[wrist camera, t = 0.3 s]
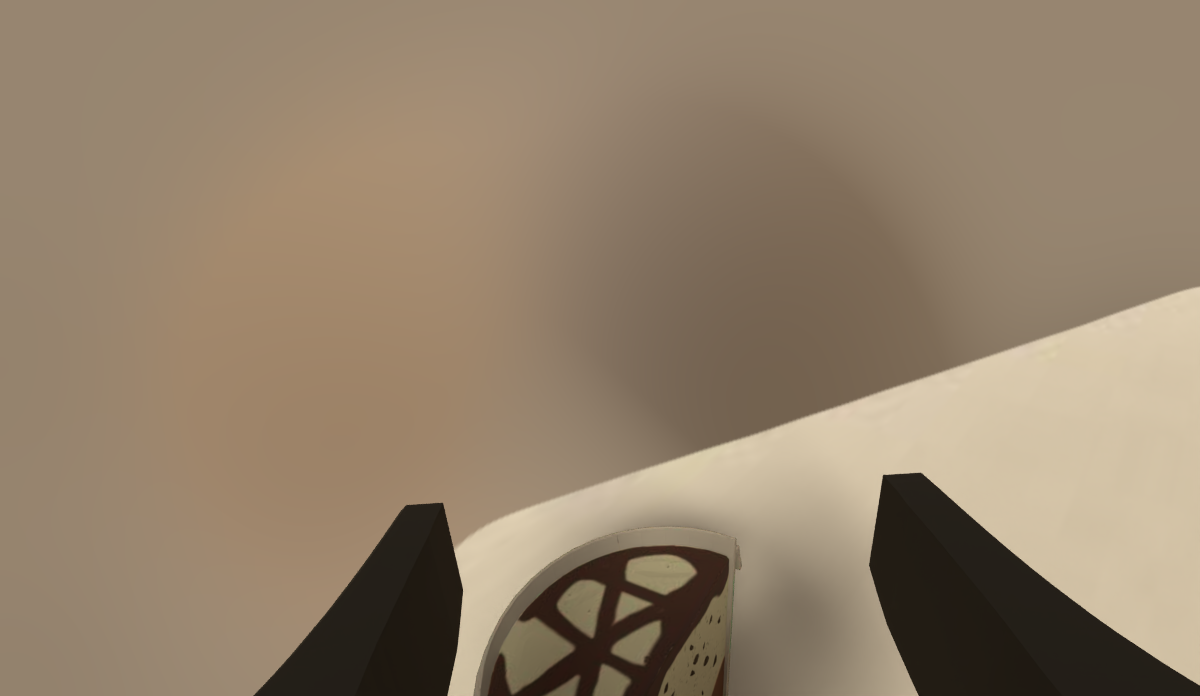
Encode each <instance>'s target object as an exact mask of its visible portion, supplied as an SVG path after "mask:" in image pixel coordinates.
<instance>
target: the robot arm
mask: <svg viewBox="0 0 1200 696" xmlns="http://www.w3.org/2000/svg"><path fill="white" fill-rule="evenodd" d="M869 567H870V570H871V574H872V577H873V580H874V584H875V587H876V591H877V594H878V597H879V601H880V604H881V607H882V610H883V613H884V616H885V619H886V622H887V625H888V628H889V630H890V632H891V635H892V637H893V639H894V641H895V644H896V646H897V648H898V651H899V653H900V655H901V657H902V660H903V662H904V664H905V666H906V669H907V671H908V673H909V675H910V678H911V680H912V682H913V684H914V686H915V689H916V691H917V693H918V695H919V696H1200V685H1198V684H1196V683H1194V682H1193V681H1191V680H1190V679H1188V678H1186V677H1185V676H1183V675H1181V674H1180V673H1178V672H1177V671H1175V670H1173V669H1172V668H1170V667H1169V666H1167V665H1165V664H1164V663H1162V662H1161V661H1159V660H1158V659H1156V658H1155V657H1153V656H1152V655H1150V654H1149V653H1147V652H1146V651H1144V650H1143V649H1141V648H1140V647H1138V646H1137V645H1135V644H1134V643H1132V642H1131V641H1129V640H1128V639H1126V638H1125V637H1123V636H1122V635H1120V634H1119V633H1117V632H1116V631H1114V630H1113V629H1111V628H1110V627H1108V626H1107V625H1106V624H1104V623H1103V622H1101V621H1100V620H1099V619H1097V618H1096V617H1094V616H1093V615H1092V614H1090V613H1089V612H1088V611H1086V610H1085V609H1084V608H1082V607H1081V606H1080V605H1078V604H1077V603H1076V602H1074V601H1073V600H1072V599H1070V598H1069V597H1068V596H1066V595H1065V594H1064V593H1062V592H1061V591H1060V590H1058V589H1057V588H1056V587H1054V586H1053V585H1052V584H1051V583H1049V582H1048V581H1047V580H1046V579H1044V578H1043V577H1042V576H1041V575H1039V574H1038V573H1037V572H1035V571H1034V570H1033V569H1032V568H1031V567H1029V566H1028V565H1027V564H1026V563H1024V562H1023V561H1022V560H1021V559H1020V558H1018V557H1017V556H1016V555H1015V554H1014V553H1012V552H1011V551H1010V550H1009V549H1008V548H1006V547H1005V546H1004V545H1003V544H1002V543H1000V542H999V541H998V540H997V539H996V538H995V537H993V536H992V535H991V534H990V533H989V532H988V531H986V530H985V529H984V528H983V527H982V526H981V525H980V524H978V523H977V522H976V521H975V520H974V519H973V518H972V517H971V516H969V515H968V514H967V513H966V512H965V511H964V510H963V509H961V508H960V507H959V506H958V505H957V504H956V503H955V502H954V501H952V500H951V499H950V498H949V497H948V496H947V495H946V494H945V493H944V492H942V491H941V490H940V489H939V488H938V487H937V486H936V485H935V484H933V483H932V482H931V481H930V480H929V479H928V478H927V477H925V476H924V475H923V474H922V473H910V474H894V475H883V479H882V486H881V492H880V499H879V505H878V512H877V518H876V524H875V531H874V537H873V544H872V550H871V557H870V563H869ZM462 596H463V587H462V583H461V579H460V574H459V570H458V566H457V561H456V557H455V553H454V548H453V544H452V540H451V536H450V532H449V527H448V522H447V518H446V514H445V509H444V505H443V503H433V504H417V505H406V506H405V507H404V509H402V510H401V512H400V513H399V514H398V516H397V517H396V519H395V520H394V522H393V523H392V525H391V526H390V528H389V529H388V530H387V532H386V533H385V535H384V536H383V538H382V539H381V540H380V542H379V543H378V545H377V546H376V547H375V549H374V550H373V552H372V553H371V555H370V556H369V557H368V559H367V560H366V561H365V563H364V564H363V566H362V567H361V568H360V570H359V571H358V573H357V574H356V575H355V576H354V578H353V579H352V580H351V582H350V583H349V584H348V586H347V587H346V588H345V590H344V591H343V592H342V594H341V595H340V596H339V597H338V599H337V600H336V601H335V603H334V604H333V605H332V607H331V608H330V609H329V610H328V612H327V613H326V614H325V616H324V617H323V618H322V619H321V620H320V621H319V623H318V624H317V625H316V626H315V627H314V628H313V630H312V631H311V632H310V633H309V635H308V636H307V637H306V638H305V639H304V640H303V642H302V643H301V644H300V645H299V646H298V648H297V649H296V650H295V651H294V652H293V653H292V655H291V656H290V657H289V658H288V659H287V660H286V661H285V663H284V664H283V665H282V666H281V667H280V668H279V669H278V670H277V671H276V673H275V674H274V675H273V676H272V677H271V678H270V679H269V680H268V681H267V682H266V683H265V684H264V685H263V687H261V689H259V691H258V692H257V693H256V694H255V695H254V696H447V694H448V690H449V685H450V681H451V676H452V671H453V667H454V662H455V657H456V653H457V646H458V637H459V628H460V618H461V607H462Z"/></svg>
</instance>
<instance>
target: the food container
mask: <svg viewBox="0 0 1200 696" xmlns="http://www.w3.org/2000/svg"><path fill="white" fill-rule="evenodd" d="M741 566H742V565H741V558H740V551H739V546H738V545H736V538H733V537H730V536H726V535H723V534H719V533H716V532H712V531H706V530H700V529H695V528H687V527H667V526H663V527H648V528H638V529H633V530H627V531H622V532H617V533H613V534H610V535H607V536H604V537H601V538H598V539H595V540H592V541H590V542H588V543H585V544H583V545H581V546H579V547H577V548H574V549H572V550H570V551H569V552H567V553H566V554H564V555H562V556H561V557H559V558H558V559H556V560H554V561H553V562H551V563H550V564H549V565H547V566H546V567H545V568H544V569H542V570H541V571H540V572H539V573H538V574H536V575H535V576H534V577H533V578H531V580H530V581H529V582H528V583H527V584H526V585H525V586H524V587H523V588H522V589H521V590H520V591H519V592H518V594H517V595H516V596H515V597H514V598H513V600H512V601H511V603H510V604H509V605H508V607H507V608H506V610H505V611H504V613H503V614H502V616H501V617H500V619H499V621H498V623H497V625H496V627H495V629H494V631H493V633H492V635H491V637H490V639H489V642H488V645H487V647H486V649H485V651H484V654H483V657H482V660H481V663H480V667H479V670H478V673H477V676H476V683H475V689H474V696H728V682H729V665H730V648H731V630H732V613H733V595H734V578H735V568H736V569H739V570H740V569H741Z"/></svg>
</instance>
